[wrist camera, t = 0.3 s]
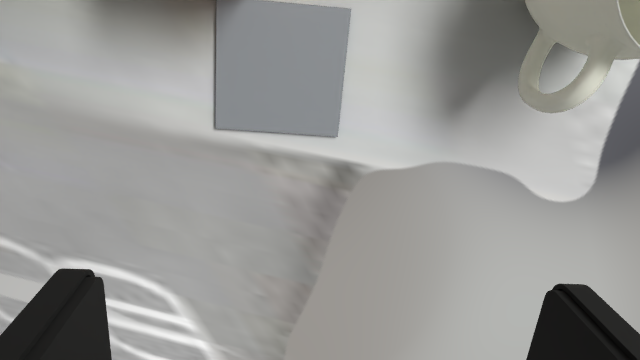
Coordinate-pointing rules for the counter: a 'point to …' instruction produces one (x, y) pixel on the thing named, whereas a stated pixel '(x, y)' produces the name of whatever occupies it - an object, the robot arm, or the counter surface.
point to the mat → (280, 66)
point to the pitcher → (578, 46)
